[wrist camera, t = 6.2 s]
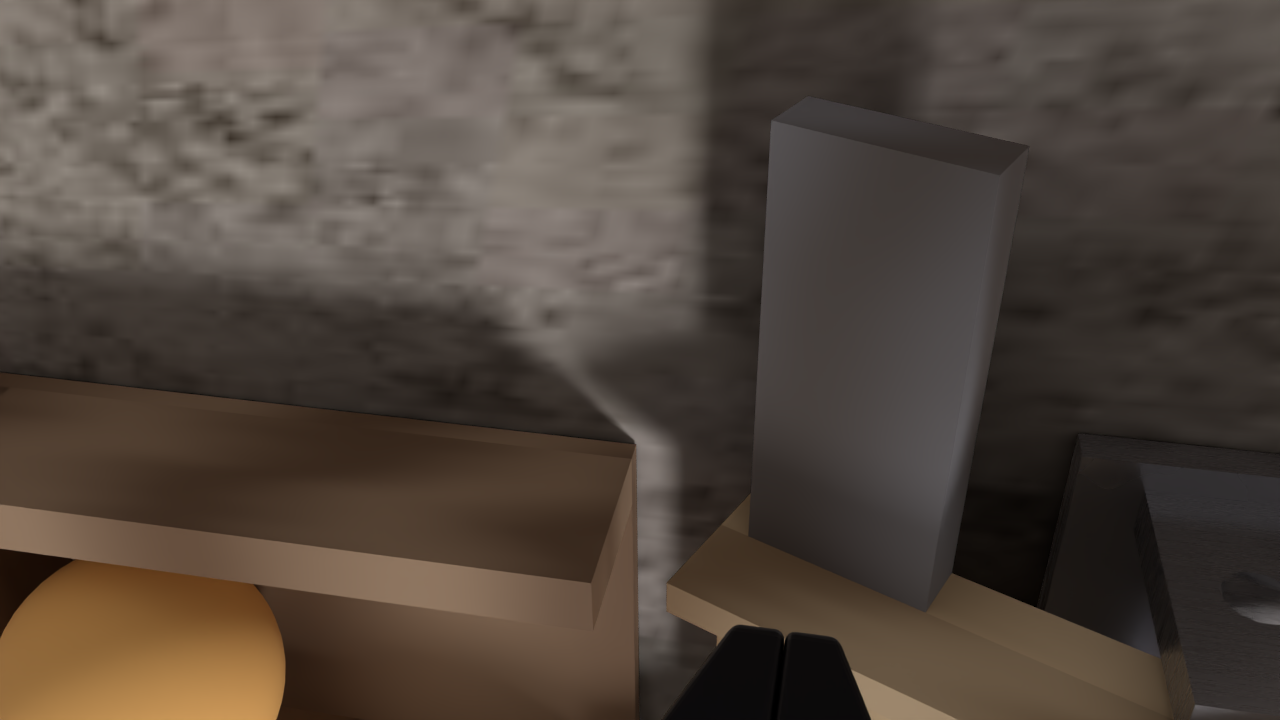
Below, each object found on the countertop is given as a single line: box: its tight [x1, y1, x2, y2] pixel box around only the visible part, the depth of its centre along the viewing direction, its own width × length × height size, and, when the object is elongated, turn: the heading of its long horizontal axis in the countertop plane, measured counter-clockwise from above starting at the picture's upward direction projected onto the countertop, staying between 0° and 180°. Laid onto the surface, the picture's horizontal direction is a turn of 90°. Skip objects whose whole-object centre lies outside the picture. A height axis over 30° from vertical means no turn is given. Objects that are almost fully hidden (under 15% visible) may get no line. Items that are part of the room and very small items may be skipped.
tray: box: [0, 373, 640, 720], centre depth 23 cm, size 13×9×3 cm
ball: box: [0, 559, 286, 720], centre depth 22 cm, size 5×5×5 cm
